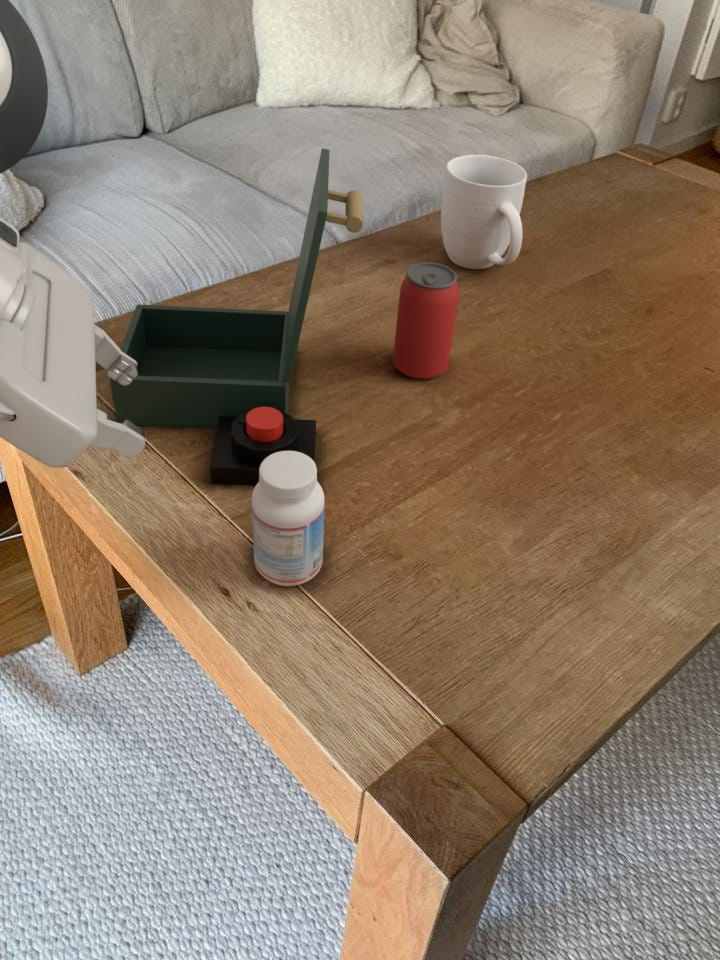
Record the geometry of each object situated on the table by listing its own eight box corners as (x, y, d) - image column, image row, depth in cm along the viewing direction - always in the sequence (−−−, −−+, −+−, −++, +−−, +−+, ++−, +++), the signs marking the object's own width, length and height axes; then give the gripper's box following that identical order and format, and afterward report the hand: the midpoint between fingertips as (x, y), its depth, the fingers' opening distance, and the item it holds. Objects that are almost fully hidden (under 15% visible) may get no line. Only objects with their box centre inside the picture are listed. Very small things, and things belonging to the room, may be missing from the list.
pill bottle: (294, 528, 76) (295, 434, 68) (336, 568, 73) (342, 473, 65) (240, 557, 73) (234, 462, 65) (280, 600, 70) (280, 505, 62)
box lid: (318, 210, 70) (370, 222, 71) (321, 147, 81) (366, 158, 82) (281, 381, 82) (326, 390, 83) (288, 307, 93) (328, 315, 94)
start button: (244, 442, 79) (244, 428, 78) (248, 419, 82) (247, 405, 81) (282, 443, 79) (282, 429, 78) (284, 420, 82) (284, 407, 81)
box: (117, 424, 86) (109, 378, 82) (142, 347, 96) (136, 304, 93) (285, 430, 87) (285, 386, 83) (292, 354, 97) (292, 311, 94)
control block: (211, 484, 80) (208, 452, 77) (220, 432, 86) (218, 401, 83) (313, 487, 80) (314, 456, 78) (315, 436, 86) (316, 405, 84)
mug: (541, 282, 114) (562, 191, 106) (475, 296, 110) (491, 203, 102) (482, 237, 124) (497, 150, 115) (419, 248, 120) (430, 159, 111)
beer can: (386, 375, 95) (396, 283, 87) (398, 346, 100) (408, 255, 92) (442, 386, 94) (457, 293, 86) (451, 356, 99) (465, 265, 91)
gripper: (-28, 345, 44) (175, 465, 52) (0, 205, 59) (154, 316, 68) (-92, 423, 46) (113, 527, 54) (-50, 268, 61) (106, 367, 69)
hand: (136, 408), depth 61 cm, fingers open, 8 cm apart
